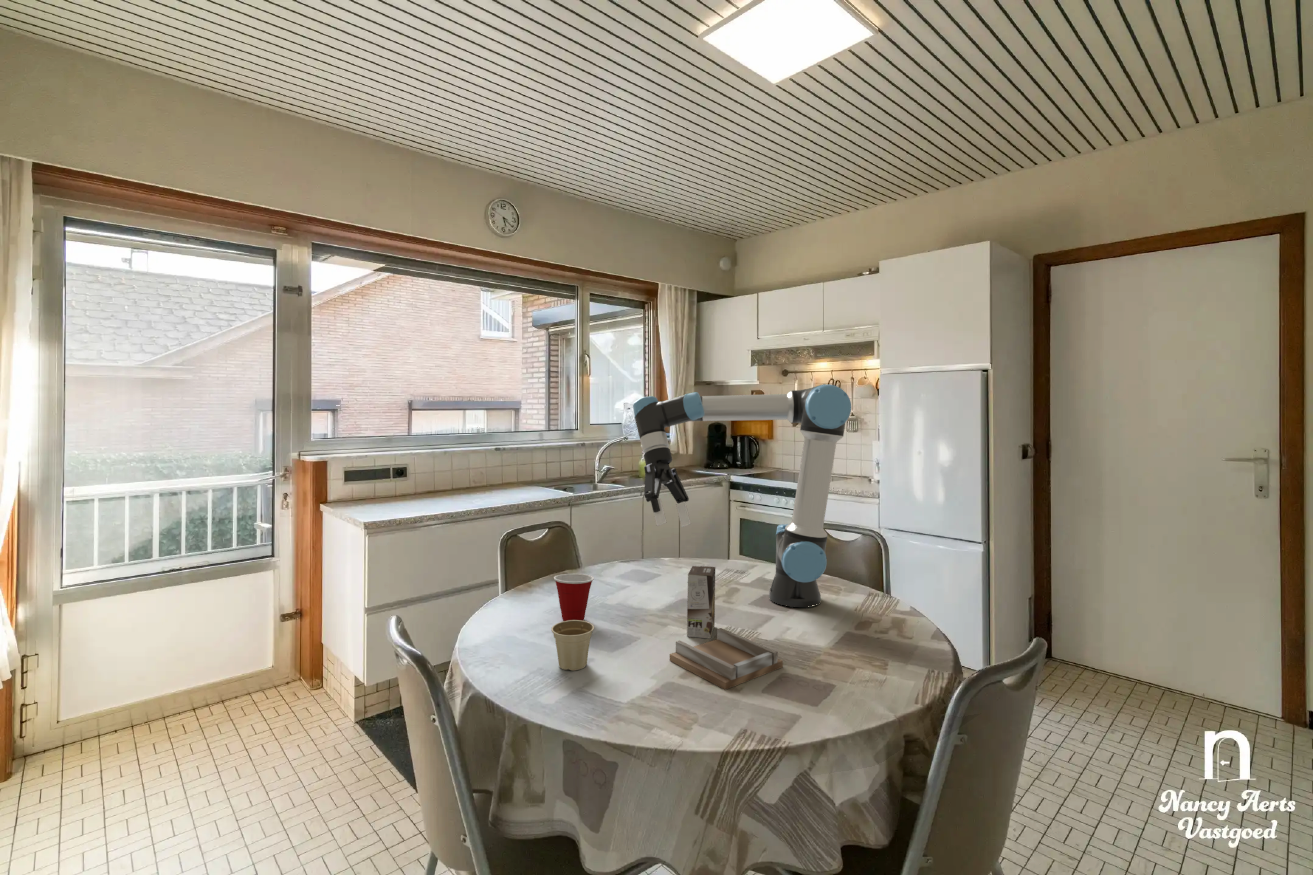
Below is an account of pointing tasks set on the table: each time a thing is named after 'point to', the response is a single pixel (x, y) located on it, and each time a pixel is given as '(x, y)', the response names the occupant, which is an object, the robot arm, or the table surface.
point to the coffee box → (701, 602)
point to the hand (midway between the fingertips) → (674, 525)
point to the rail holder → (727, 659)
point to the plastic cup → (573, 595)
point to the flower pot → (572, 643)
